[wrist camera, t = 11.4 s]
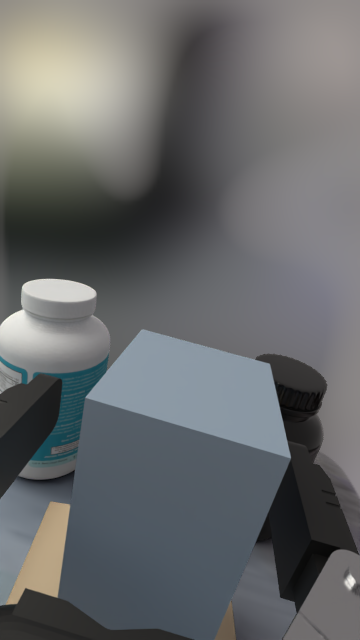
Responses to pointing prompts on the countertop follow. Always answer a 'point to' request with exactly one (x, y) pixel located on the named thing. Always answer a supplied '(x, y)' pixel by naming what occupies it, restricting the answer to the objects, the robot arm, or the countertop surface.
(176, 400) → the pillar
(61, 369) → the pill bottle
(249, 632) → the countertop surface
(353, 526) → the countertop surface
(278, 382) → the supplement bottle
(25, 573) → the tower top
